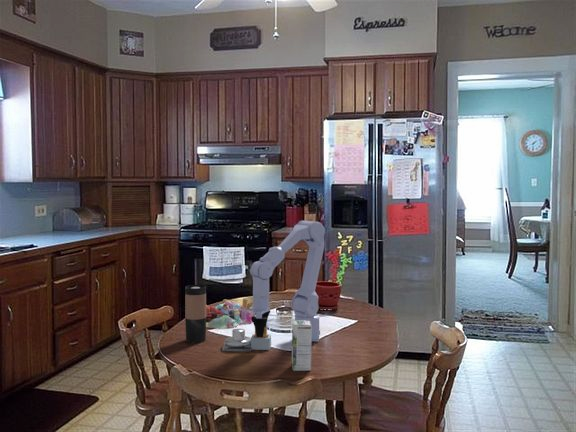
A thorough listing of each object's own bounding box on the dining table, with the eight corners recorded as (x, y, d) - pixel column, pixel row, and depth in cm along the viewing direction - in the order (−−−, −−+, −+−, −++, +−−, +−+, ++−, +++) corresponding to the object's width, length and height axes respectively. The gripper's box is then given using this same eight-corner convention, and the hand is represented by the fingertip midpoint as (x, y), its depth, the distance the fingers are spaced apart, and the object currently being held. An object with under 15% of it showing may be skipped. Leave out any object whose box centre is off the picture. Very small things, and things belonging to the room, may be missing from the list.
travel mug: (210, 338, 196) (209, 285, 195) (200, 344, 189) (199, 289, 188) (191, 336, 199) (191, 284, 198) (181, 342, 192) (181, 287, 190)
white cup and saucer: (254, 343, 191) (254, 326, 190) (250, 351, 181) (250, 334, 180) (227, 342, 191) (227, 326, 191) (222, 351, 181) (221, 333, 181)
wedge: (255, 346, 187) (255, 327, 186) (267, 346, 187) (267, 327, 186) (254, 348, 184) (254, 328, 184) (266, 348, 184) (266, 329, 184)
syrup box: (291, 365, 167) (291, 320, 166) (309, 364, 168) (309, 319, 167) (292, 371, 162) (293, 324, 161) (311, 370, 162) (312, 324, 161)
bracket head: (273, 339, 196) (273, 328, 196) (269, 349, 183) (269, 338, 183) (255, 338, 196) (255, 328, 196) (250, 349, 183) (250, 338, 183)
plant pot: (311, 311, 239) (311, 285, 239) (314, 305, 252) (314, 280, 252) (340, 312, 237) (340, 286, 237) (341, 306, 250) (341, 281, 250)
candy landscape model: (208, 313, 236) (208, 293, 236) (259, 315, 233) (259, 295, 232) (189, 328, 211) (189, 305, 211) (246, 330, 208) (246, 307, 207)
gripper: (252, 291, 192) (252, 328, 193) (246, 299, 177) (246, 339, 178) (271, 291, 191) (271, 328, 192) (267, 300, 177) (267, 339, 178)
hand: (261, 333), depth 185 cm, fingers open, 7 cm apart
